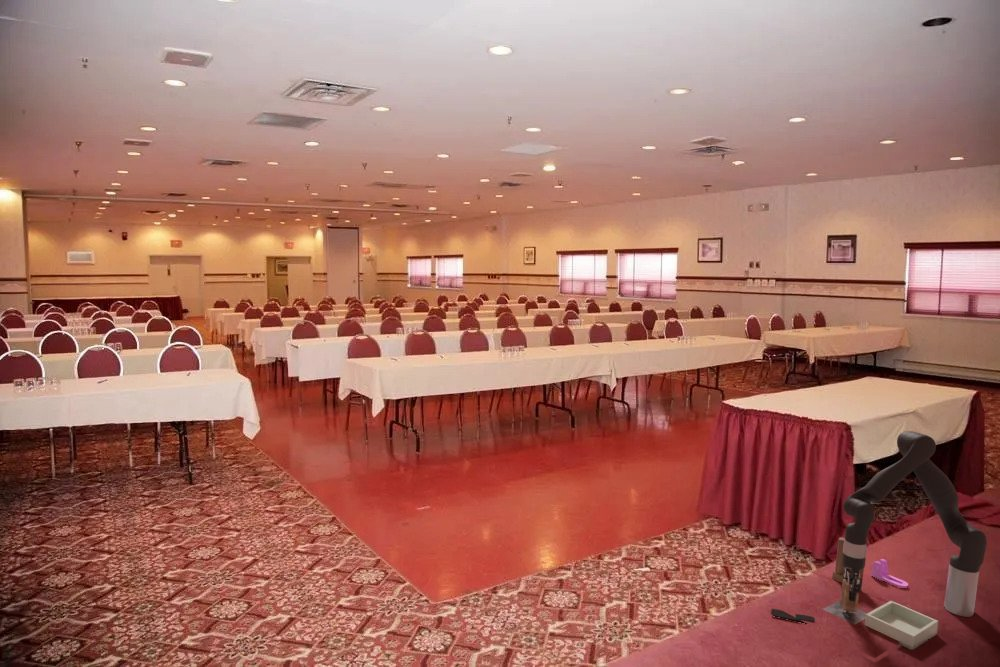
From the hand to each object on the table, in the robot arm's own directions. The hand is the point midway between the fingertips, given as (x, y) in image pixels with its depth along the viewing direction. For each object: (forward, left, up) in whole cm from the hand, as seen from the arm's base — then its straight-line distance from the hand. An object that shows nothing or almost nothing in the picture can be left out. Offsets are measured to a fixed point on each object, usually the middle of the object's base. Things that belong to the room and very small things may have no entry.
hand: (849, 597), depth 249 cm
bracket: (-41, -5, -7) cm, 42 cm away
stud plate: (0, 0, -7) cm, 7 cm away
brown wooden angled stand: (-22, -12, -7) cm, 26 cm away
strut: (0, 0, -4) cm, 4 cm away
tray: (-6, +16, -7) cm, 18 cm away
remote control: (+20, -10, -8) cm, 23 cm away
